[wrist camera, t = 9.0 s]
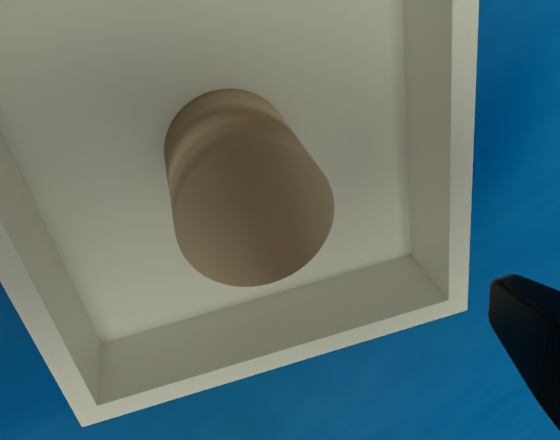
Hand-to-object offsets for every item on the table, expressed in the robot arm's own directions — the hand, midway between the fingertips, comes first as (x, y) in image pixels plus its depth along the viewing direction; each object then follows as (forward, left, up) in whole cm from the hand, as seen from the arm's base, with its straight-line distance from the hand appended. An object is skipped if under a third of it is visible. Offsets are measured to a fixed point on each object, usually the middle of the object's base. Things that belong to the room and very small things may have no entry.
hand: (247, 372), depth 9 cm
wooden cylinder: (+1, -1, -11) cm, 11 cm away
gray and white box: (+1, -1, -12) cm, 12 cm away
